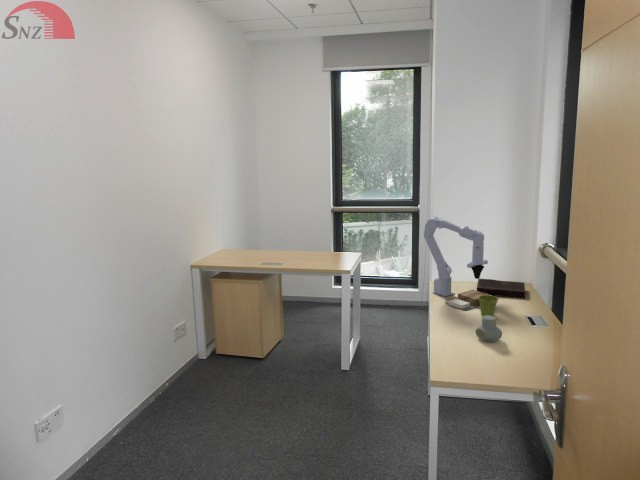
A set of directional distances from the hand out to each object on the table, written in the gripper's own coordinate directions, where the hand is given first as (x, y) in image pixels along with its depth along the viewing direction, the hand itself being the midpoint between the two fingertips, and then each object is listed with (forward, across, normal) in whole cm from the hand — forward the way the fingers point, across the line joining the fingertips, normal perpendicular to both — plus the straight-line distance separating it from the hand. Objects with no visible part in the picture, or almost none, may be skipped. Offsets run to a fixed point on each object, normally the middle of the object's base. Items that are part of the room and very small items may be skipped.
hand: (476, 278), depth 260 cm
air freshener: (+11, -42, -41) cm, 60 cm away
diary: (+11, +18, -3) cm, 21 cm away
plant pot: (+11, -19, -22) cm, 31 cm away
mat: (+10, -18, -5) cm, 22 cm away
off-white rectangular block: (+8, -20, -5) cm, 22 cm away
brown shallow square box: (+10, -8, -5) cm, 14 cm away
